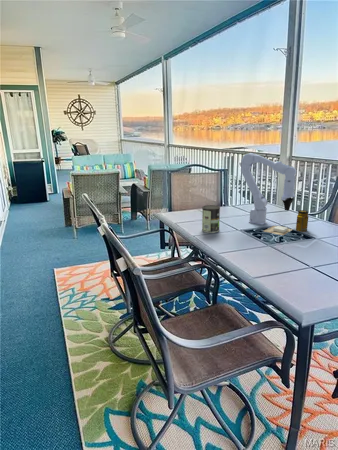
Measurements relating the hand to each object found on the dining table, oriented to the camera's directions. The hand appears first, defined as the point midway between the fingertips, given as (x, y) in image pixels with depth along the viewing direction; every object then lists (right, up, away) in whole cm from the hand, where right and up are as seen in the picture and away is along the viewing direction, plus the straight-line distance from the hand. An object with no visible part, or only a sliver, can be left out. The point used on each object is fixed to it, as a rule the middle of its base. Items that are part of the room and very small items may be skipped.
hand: (286, 210), depth 192 cm
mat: (-8, -13, -7) cm, 16 cm away
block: (-5, -11, -6) cm, 13 cm away
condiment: (+6, -13, -7) cm, 16 cm away
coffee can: (-46, -12, -3) cm, 48 cm away
